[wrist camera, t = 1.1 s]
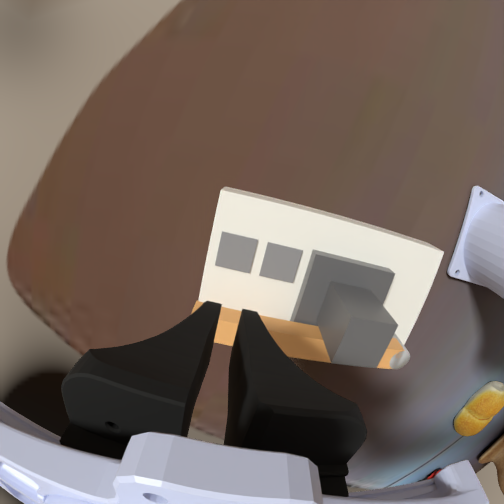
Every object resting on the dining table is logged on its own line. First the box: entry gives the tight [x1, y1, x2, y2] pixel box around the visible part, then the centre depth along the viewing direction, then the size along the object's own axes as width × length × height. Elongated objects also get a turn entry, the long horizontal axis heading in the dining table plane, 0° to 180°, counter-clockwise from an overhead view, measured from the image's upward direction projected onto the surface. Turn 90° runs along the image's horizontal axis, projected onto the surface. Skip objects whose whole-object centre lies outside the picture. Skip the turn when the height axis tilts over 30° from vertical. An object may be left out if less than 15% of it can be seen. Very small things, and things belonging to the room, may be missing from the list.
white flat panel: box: [199, 187, 444, 345], centre depth 20 cm, size 16×10×3 cm, turn 77°
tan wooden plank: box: [191, 301, 410, 369], centre depth 18 cm, size 15×2×3 cm, turn 77°
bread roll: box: [454, 381, 504, 436], centre depth 25 cm, size 8×9×4 cm
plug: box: [290, 249, 398, 368], centre depth 17 cm, size 6×6×8 cm
